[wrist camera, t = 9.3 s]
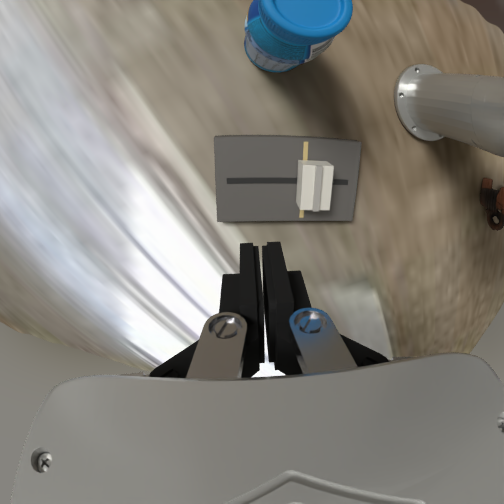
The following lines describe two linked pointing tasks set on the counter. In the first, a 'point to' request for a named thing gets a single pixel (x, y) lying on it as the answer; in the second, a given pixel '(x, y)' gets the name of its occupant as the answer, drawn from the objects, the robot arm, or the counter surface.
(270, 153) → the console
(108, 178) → the counter surface
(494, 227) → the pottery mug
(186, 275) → the counter surface
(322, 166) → the fader knob
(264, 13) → the blue lidded canister
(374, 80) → the counter surface
